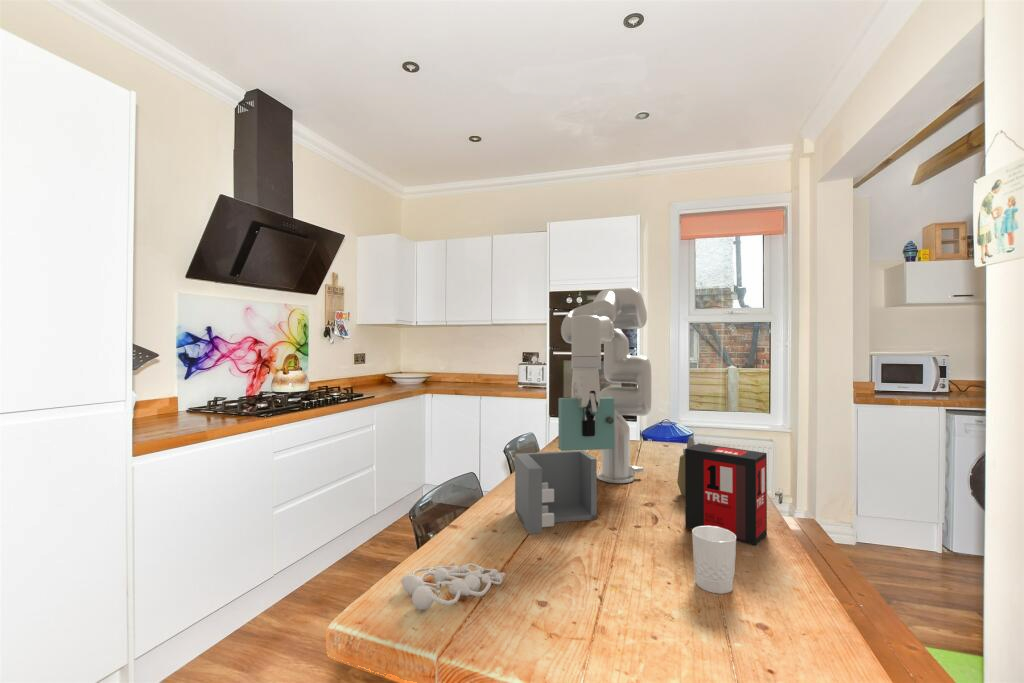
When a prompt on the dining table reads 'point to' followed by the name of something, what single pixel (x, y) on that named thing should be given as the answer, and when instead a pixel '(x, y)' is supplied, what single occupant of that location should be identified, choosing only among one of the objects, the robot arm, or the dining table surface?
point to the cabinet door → (572, 426)
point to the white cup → (714, 558)
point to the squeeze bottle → (683, 468)
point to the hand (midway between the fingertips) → (586, 433)
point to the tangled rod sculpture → (457, 586)
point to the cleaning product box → (727, 490)
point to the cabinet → (555, 488)
